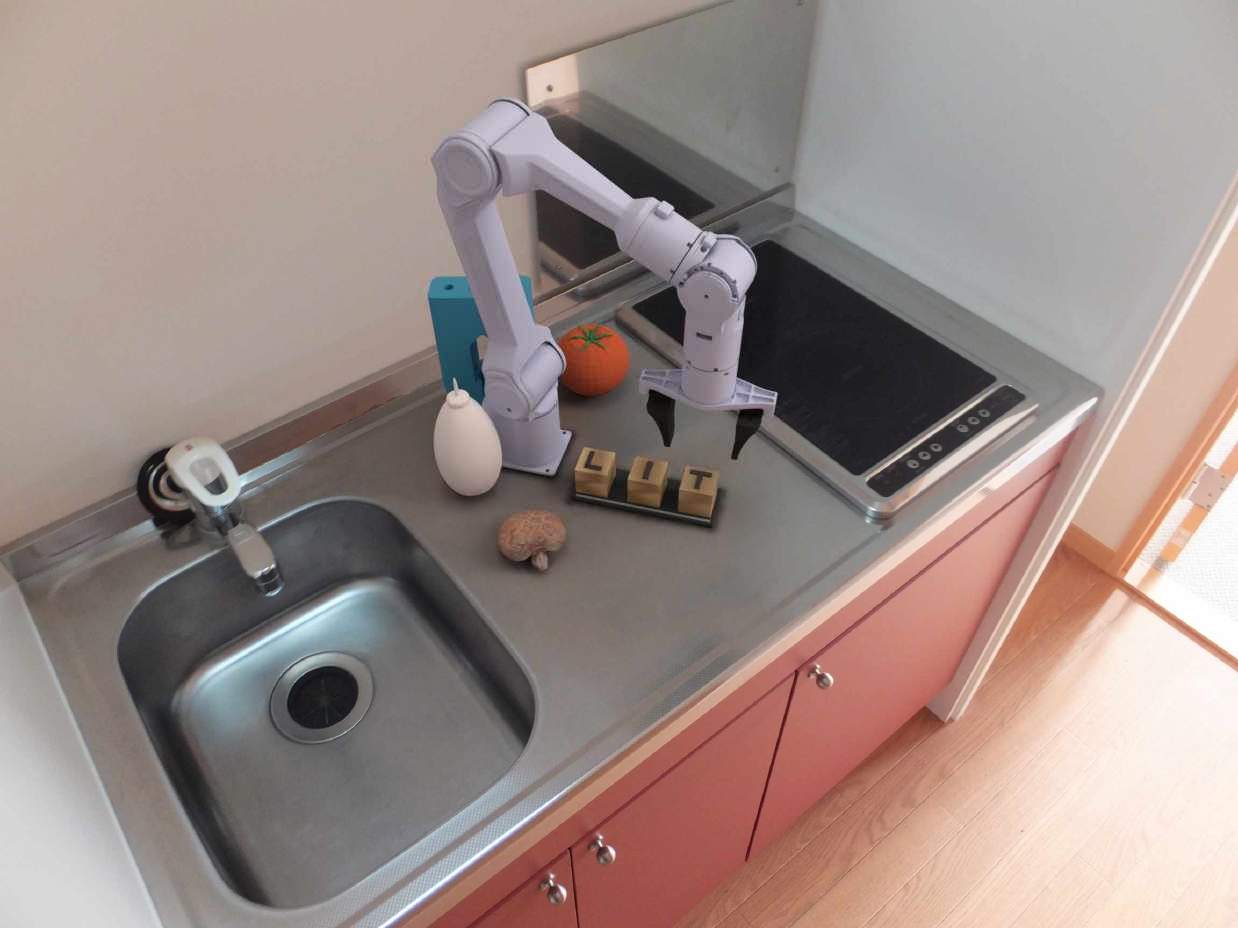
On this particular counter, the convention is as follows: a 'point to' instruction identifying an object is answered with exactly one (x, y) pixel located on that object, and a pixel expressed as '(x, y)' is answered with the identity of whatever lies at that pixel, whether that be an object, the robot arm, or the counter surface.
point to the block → (461, 332)
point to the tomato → (593, 359)
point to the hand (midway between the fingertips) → (701, 447)
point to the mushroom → (531, 536)
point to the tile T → (698, 491)
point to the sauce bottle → (466, 445)
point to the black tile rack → (666, 510)
